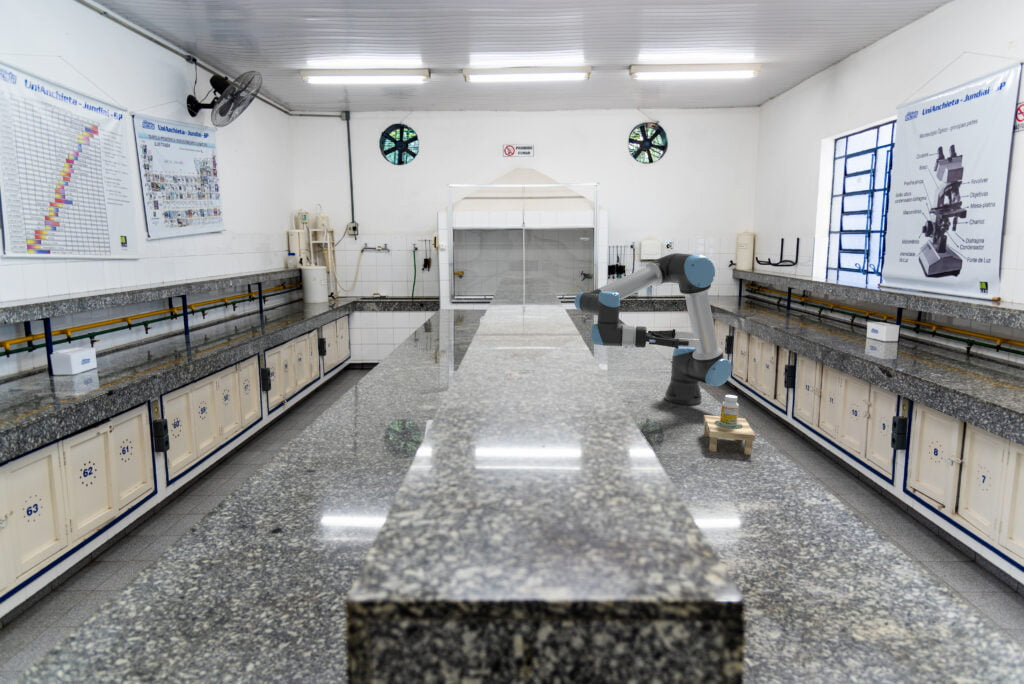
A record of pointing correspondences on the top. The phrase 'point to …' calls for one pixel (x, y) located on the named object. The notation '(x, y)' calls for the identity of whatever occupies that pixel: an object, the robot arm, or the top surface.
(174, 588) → the top surface
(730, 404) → the supplement bottle
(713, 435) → the footstool
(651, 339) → the robot arm
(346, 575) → the top surface
